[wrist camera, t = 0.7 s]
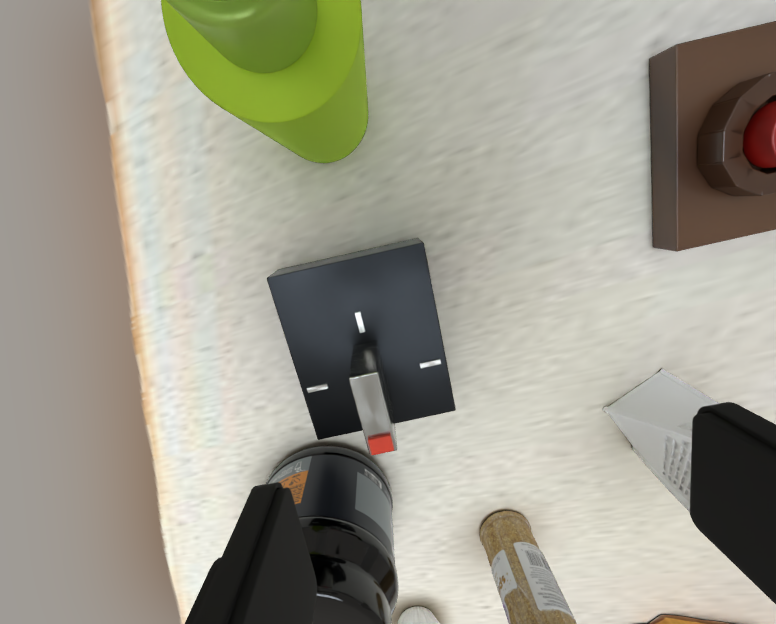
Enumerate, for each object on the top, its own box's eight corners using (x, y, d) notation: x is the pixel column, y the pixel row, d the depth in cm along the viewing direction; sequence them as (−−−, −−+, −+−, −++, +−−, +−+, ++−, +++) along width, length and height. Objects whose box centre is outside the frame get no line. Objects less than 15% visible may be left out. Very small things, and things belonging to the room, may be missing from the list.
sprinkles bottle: (468, 526, 33) (528, 731, 20) (511, 499, 33) (602, 693, 20) (496, 557, 34) (570, 770, 22) (539, 531, 34) (641, 735, 21)
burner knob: (353, 344, 25) (348, 380, 20) (377, 339, 25) (377, 373, 20) (370, 410, 26) (369, 459, 21) (393, 405, 26) (397, 453, 21)
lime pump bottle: (370, 178, 25) (359, 102, 6) (265, 147, 24) (-148, -60, 5) (394, 82, 23) (490, -460, 4) (284, 45, 23) (-209, -811, 4)
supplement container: (239, 485, 31) (160, 650, 20) (338, 415, 30) (315, 549, 18) (321, 561, 34) (294, 747, 22) (417, 500, 32) (440, 666, 21)
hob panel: (277, 269, 26) (265, 278, 23) (418, 237, 26) (424, 242, 23) (325, 423, 30) (319, 448, 27) (449, 396, 30) (457, 419, 27)
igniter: (649, 58, 24) (702, 30, 20) (794, 24, 23) (877, -11, 20) (652, 247, 27) (699, 255, 23) (779, 219, 27) (847, 222, 23)
